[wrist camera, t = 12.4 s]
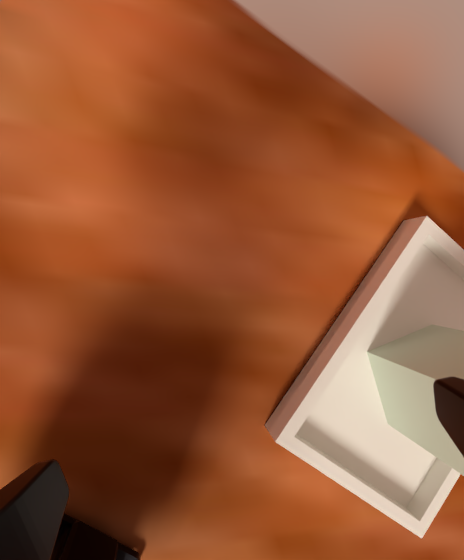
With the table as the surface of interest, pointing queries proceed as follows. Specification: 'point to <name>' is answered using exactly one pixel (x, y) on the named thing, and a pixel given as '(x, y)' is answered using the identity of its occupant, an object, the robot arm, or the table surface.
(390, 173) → the table surface
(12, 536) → the robot arm
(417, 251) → the tray
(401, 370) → the sage block
